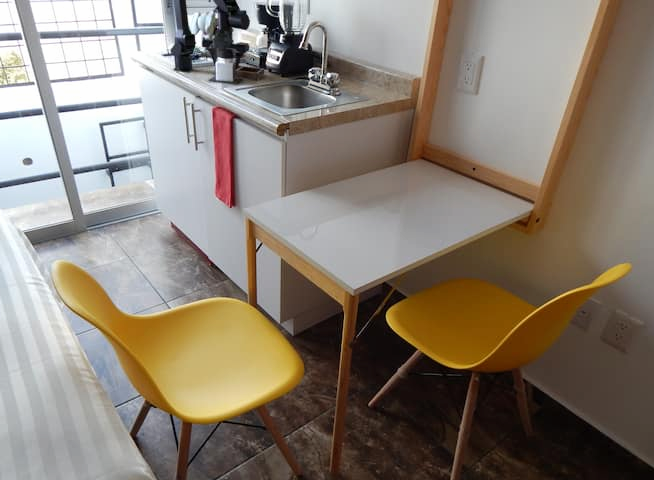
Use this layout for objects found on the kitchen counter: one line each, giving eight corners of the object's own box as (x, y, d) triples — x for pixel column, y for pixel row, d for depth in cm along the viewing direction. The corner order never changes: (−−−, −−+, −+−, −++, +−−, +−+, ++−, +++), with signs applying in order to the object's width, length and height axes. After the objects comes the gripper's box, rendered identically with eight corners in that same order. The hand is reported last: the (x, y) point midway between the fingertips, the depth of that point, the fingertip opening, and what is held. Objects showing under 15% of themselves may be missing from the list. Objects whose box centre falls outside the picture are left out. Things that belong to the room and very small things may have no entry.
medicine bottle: (233, 82, 202) (232, 51, 195) (216, 80, 202) (215, 49, 195) (235, 78, 208) (235, 48, 201) (219, 76, 208) (218, 46, 201)
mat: (208, 80, 202) (208, 79, 202) (217, 76, 209) (216, 75, 209) (236, 84, 200) (236, 83, 200) (243, 79, 208) (243, 78, 207)
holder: (215, 74, 211) (214, 67, 209) (223, 70, 219) (223, 63, 218) (257, 80, 208) (257, 73, 207) (264, 75, 217) (264, 68, 215)
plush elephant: (223, 48, 259) (222, 5, 248) (248, 56, 247) (248, 11, 235) (179, 52, 243) (175, 5, 232) (203, 61, 231) (201, 12, 219)
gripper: (195, 26, 188) (197, 68, 197) (240, 31, 185) (240, 74, 194) (206, 22, 197) (208, 63, 206) (249, 28, 194) (249, 68, 203)
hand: (226, 67), depth 202 cm, fingers open, 9 cm apart
